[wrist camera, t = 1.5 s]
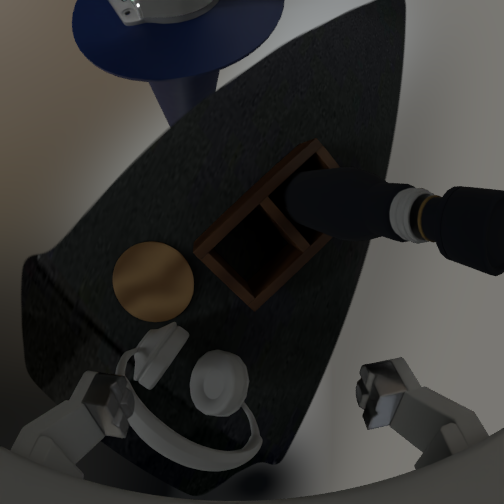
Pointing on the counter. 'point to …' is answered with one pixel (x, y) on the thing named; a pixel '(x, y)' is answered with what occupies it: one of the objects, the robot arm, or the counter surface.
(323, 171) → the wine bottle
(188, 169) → the counter surface
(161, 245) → the coaster
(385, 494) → the robot arm
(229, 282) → the wooden compartment tray
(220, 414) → the headphones
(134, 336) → the counter surface
